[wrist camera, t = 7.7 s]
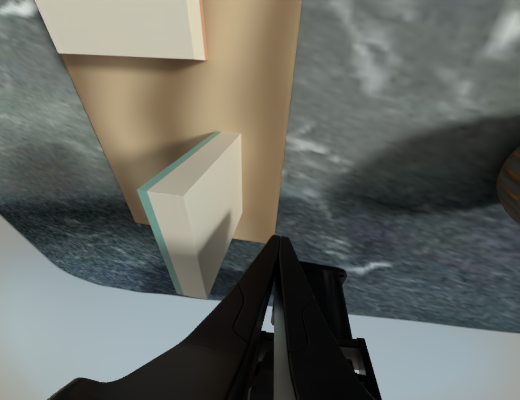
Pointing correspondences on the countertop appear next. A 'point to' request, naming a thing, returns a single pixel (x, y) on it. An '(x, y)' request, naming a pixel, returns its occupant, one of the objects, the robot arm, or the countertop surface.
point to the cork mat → (201, 104)
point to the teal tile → (196, 211)
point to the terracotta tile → (127, 27)
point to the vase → (510, 185)
